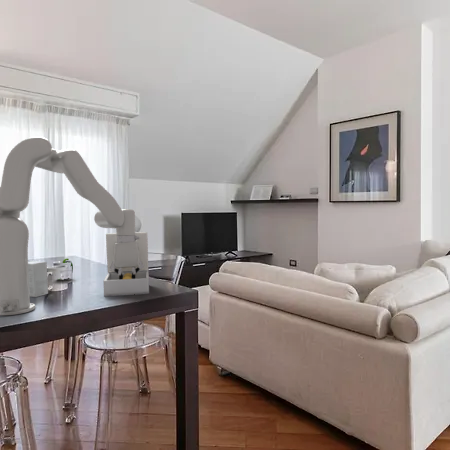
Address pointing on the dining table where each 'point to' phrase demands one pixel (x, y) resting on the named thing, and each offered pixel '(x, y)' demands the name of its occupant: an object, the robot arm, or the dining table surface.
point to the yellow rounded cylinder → (127, 276)
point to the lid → (143, 251)
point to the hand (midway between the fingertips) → (127, 283)
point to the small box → (37, 278)
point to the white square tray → (126, 284)
